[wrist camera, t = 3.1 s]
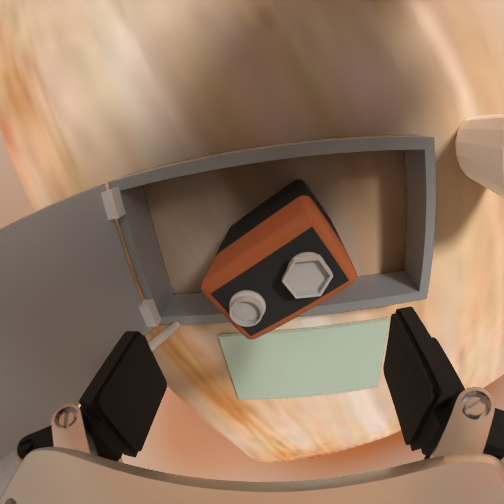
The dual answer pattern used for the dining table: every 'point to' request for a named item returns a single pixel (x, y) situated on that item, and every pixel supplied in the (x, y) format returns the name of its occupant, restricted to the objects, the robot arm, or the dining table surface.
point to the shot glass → (482, 151)
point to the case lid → (59, 309)
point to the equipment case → (131, 186)
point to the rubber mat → (306, 360)
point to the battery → (278, 263)
